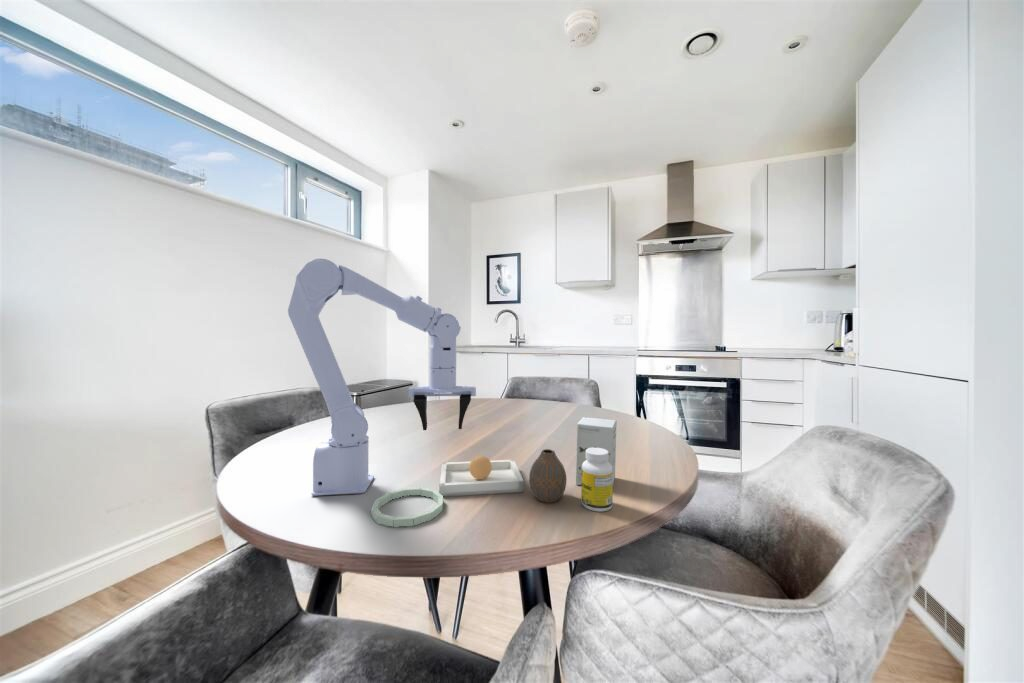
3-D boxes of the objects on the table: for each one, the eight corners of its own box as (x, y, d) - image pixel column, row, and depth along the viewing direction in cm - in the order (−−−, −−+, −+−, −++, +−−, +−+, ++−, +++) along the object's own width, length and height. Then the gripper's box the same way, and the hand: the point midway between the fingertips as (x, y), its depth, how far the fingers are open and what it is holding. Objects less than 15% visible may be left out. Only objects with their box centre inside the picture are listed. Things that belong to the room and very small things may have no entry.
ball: (469, 483, 70) (470, 460, 70) (468, 474, 74) (469, 453, 74) (492, 482, 71) (493, 460, 71) (490, 474, 75) (490, 452, 75)
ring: (364, 529, 54) (364, 521, 54) (380, 495, 66) (380, 489, 66) (441, 524, 56) (441, 516, 56) (444, 492, 67) (444, 486, 67)
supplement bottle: (577, 498, 65) (578, 446, 65) (606, 497, 66) (606, 445, 66) (586, 513, 60) (586, 456, 60) (617, 512, 60) (617, 455, 60)
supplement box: (574, 485, 71) (575, 423, 71) (581, 472, 78) (582, 415, 78) (612, 491, 68) (613, 427, 68) (616, 477, 75) (617, 419, 75)
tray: (439, 496, 65) (439, 485, 65) (442, 472, 77) (442, 462, 77) (523, 491, 68) (523, 481, 68) (513, 468, 80) (513, 459, 80)
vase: (565, 490, 69) (565, 446, 69) (567, 507, 62) (567, 458, 62) (529, 488, 69) (530, 444, 69) (528, 505, 62) (528, 456, 62)
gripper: (406, 369, 73) (406, 434, 73) (476, 369, 75) (476, 432, 75) (411, 366, 80) (410, 426, 80) (475, 366, 82) (474, 424, 82)
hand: (442, 428), depth 78 cm, fingers open, 7 cm apart
